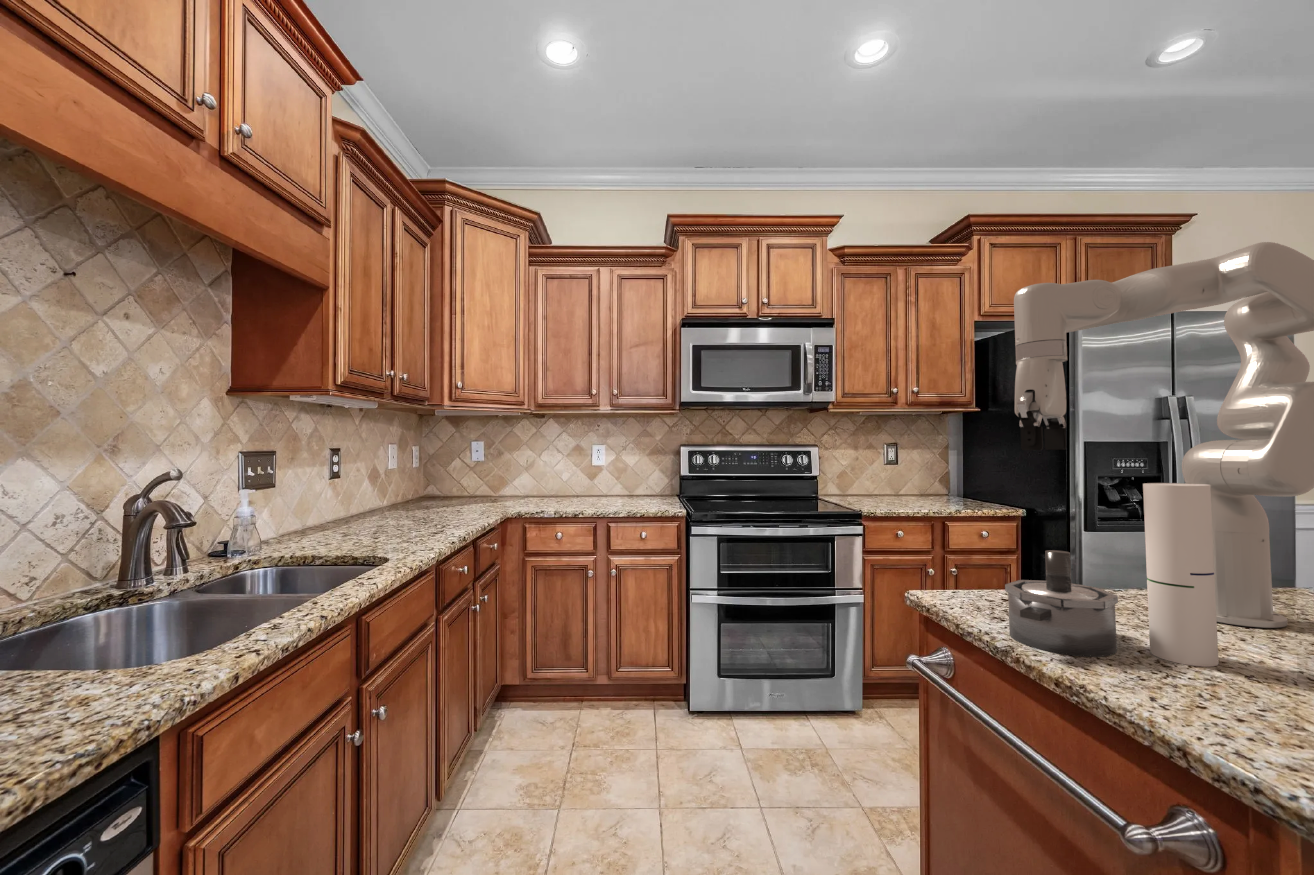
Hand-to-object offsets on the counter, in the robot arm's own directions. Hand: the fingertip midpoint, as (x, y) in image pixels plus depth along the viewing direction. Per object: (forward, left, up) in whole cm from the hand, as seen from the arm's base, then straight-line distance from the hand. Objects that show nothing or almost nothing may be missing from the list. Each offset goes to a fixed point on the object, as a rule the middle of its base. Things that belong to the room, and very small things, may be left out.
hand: (1044, 449), depth 97 cm
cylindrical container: (+4, +18, -31) cm, 36 cm away
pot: (+10, +5, -30) cm, 32 cm away
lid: (+10, +5, -23) cm, 26 cm away
